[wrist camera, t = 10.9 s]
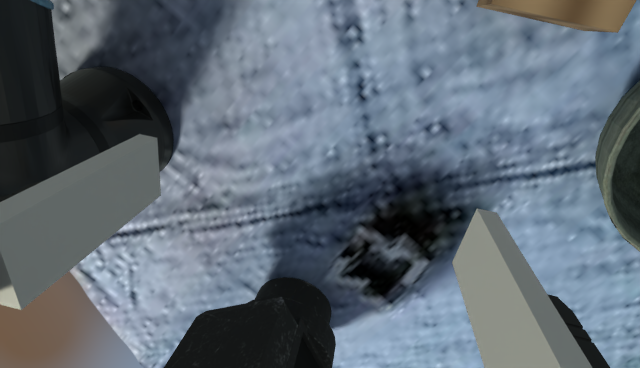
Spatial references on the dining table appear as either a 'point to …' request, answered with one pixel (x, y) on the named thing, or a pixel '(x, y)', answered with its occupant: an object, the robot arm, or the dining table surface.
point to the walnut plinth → (568, 12)
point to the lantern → (262, 331)
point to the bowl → (622, 166)
